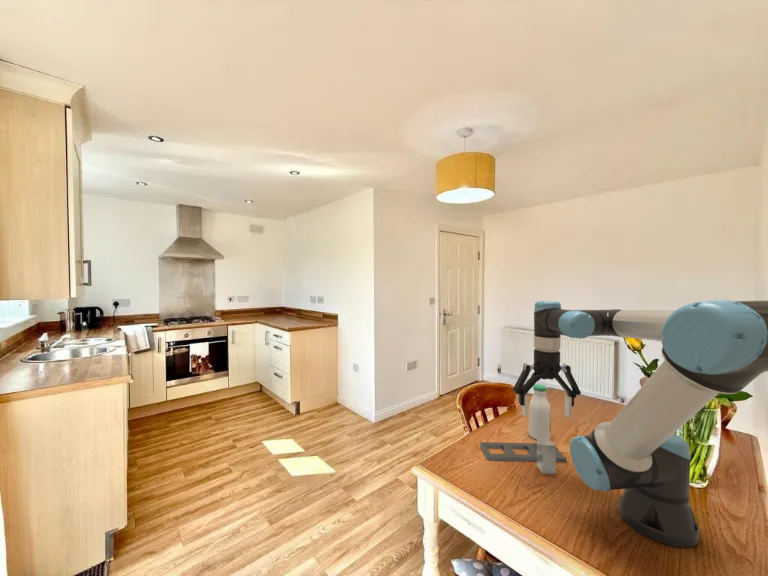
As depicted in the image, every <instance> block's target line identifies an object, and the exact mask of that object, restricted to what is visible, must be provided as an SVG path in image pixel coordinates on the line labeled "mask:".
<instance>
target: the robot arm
mask: <svg viewBox="0 0 768 576" xmlns="http://www.w3.org/2000/svg"><path fill="white" fill-rule="evenodd" d="M533 332H534V333H533V347H534V348H535V349H533V364H527V363H524V364H523V366H522V371H521V372H520V375H519V377H518V379H517V381H515V384H514V386H513V388H512V391H513V392H514V394H516V395H518V403H519V405H520V406H521V414H522V416H523V417H525V418H528V408H529V405H528V403H529V402H528V398H529V397H528V396H527V394H528V393H529V391H530V390H531V389H533V386H534V385H535V384H537V382H540V380H541V379H542V380H555V381H556V382H557V383H558V384H559V385H560V386H561V388H562V389H563V390H564V392H566V394H564V413H563V414H564V415H565V416H566V417H567V418H568V419H572V407H574V406H575V399H576V398H577V395H578V396H580V395H582V392H581V390H580V388H579V386H578V384H577V381H576V380H575V377H574V376H573V374H572V369H571V365H568V364H567V363H563V364H560V363H561V351H560V350H561V336H566V337H569V338H570V339H580V340H581V339H586V338H588V337H598V336H600V337H603V336H604V337H605V336H606V337H608V336H610V337H618V338H620V337H621V338H630V339H631V338H632V339H636V340H638V339H639V340H647V341H655V342H661V344H662V348H661V356H662V358H663V361H662V363H661V364H660V365H659V366H658V367H657V368H656V369H655V371H654V372H653V373H652V375H650V377H649V378H648V379H646V381H645V382H644V384H643V385H642V386H640V388H639V390H637V391H636V392H635V394H634V395H633V396H632V397H631V399H630V400H629V401H628V402H627V403H626V404H625V405H624V406H623V408H622V409H621V410H620V411H619V412H618V413H617V415H616V416H615V417H614V418H613V419H612V420H611V421H602V422H600V423H598V424H597V425H596V426H595V427H594V429H593V430H592V431H591V432H590V433H589V434H587V435H577V436H574V437H572V439H571V441H570V444H569V453H570V456H571V457H570V458H571V460H572V463H573V466H574V469H575V471H576V473H577V474H578V476H579V478H581V481H582V482H583V483H584V484H585V485H587V486H588V487H589V488H590V489H592V490H594V491H604V492H610V491H613V490H624V491H623V494H622V496H621V497H620V498H619V503H618V512H619V514H620V516H621V518H622V520H624V521H625V523H626V524H627V525H629V526H630V528H633V530H635V531H637V532H638V533H640V534H642V535H643V536H645V537H647V538H649V539H651V540H654V541H656V542H658V543H661V544H664V545H668V546H672V547H677V548H693V547H695V546H697V545H698V544H699V542H700V529H699V528H700V527H699V525H698V523H697V520H696V517H695V515H694V512H693V510H692V506H691V503H690V486H691V485H690V482H691V480H690V479H691V459H692V457H691V454H690V453H691V451H690V445H689V444H688V443H689V442H687V441H686V440H685V439H684V438H683V437H681V436H680V435H677V434H676V432H678V431H679V429H680V428H682V427H683V426H684V425H685V424H686V423H687V422H689V421H690V420H691V419H692V418H693V417H694V416H695V415H696V414H698V413H699V412H700V411H701V410H702V409H703V408H704V407H705V406H706V405H708V404H709V403H710V402H711V401H713V399H714V398H715V397H716V396H719V395H718V394H724V395H735V394H737V393H739V392H741V391H743V389H745V387H746V386H748V385H749V384H750V383H751V382H753V381H754V380H755V379H756V378H758V376H760V375H761V374H763V373H766V372H768V300H737V301H736V300H735V301H734V300H728V299H710V300H704V301H697V302H695V301H694V302H692V303H688V304H686V305H683V306H681V307H679V308H677V309H676V310H668V309H667V310H666V309H665V310H658V309H657V310H655V309H654V310H653V309H651V310H650V309H645V310H644V309H619V308H618V309H562V304H561V302H560V301H556V300H555V301H554V300H539V301H536V302H535V303H534V311H533ZM532 370H533V373H532ZM530 372H531V373H532V374H531V376H530ZM560 372H562V373H564V376H565V378H566V380H567V382H568V384H569V385H570V387H569V385H568V384H567V383H566V382H565V381H564V380H563V378H562V376H561V375H560V374H559V373H560ZM529 376H530V377H529ZM528 377H529V379H528Z"/></svg>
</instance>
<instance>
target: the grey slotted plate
mask: <svg viewBox="0 0 768 576" xmlns="http://www.w3.org/2000/svg"><path fill="white" fill-rule="evenodd" d="M479 446H480V448H481V450H482V452H483V455H484V456H485V457H486V459H487V461H496V462H497V461H499V462H500V461H502V462H505V461H506V462H537V442H534V443H533V442H532V443H530V442H495V441H494V442H493V441H492V442H491V441H489V442H487V441H481V442H479ZM489 449H498V450H499V449H500V450H501V449H502V451H503V452H504V453H491V452H490V451H489ZM514 450H526V451H527V452H528V454H520V453H519V454H517V453H516V452H515V451H514ZM556 463H567V458H566V456H565V455H563V454H562V452H561V451H560V450H559V449H558V448H557V447H556Z"/></svg>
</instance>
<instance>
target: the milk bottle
mask: <svg viewBox="0 0 768 576" xmlns="http://www.w3.org/2000/svg"><path fill="white" fill-rule="evenodd" d="M532 389H533V390H532V391H533V394H532V397H531V399H530V401H529V405H528V435H529V436H530V437H531V438H532V439H535V440H537V439H550V440H551V434H552V433H551V432H552V431H551V429H552V428H551V427H552V425H551V422H552V420H551V417H552V416H551V415H552V413H551V405H550V402H549V400H548V397H547V394H546V393H547V386H546V385H544V384H539V383H535V384H534V386H533V387H532Z"/></svg>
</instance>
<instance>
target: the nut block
mask: <svg viewBox="0 0 768 576" xmlns="http://www.w3.org/2000/svg"><path fill="white" fill-rule="evenodd" d="M536 443H537V449H536V450H537V461H536V468H537V469H538V470H539V471H540V473H541V474H542V475H556V463H557V462H556V448H557V447H556V446H557V445H556V444H555V443H553V441H552V440H551V438H550V439H536Z"/></svg>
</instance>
